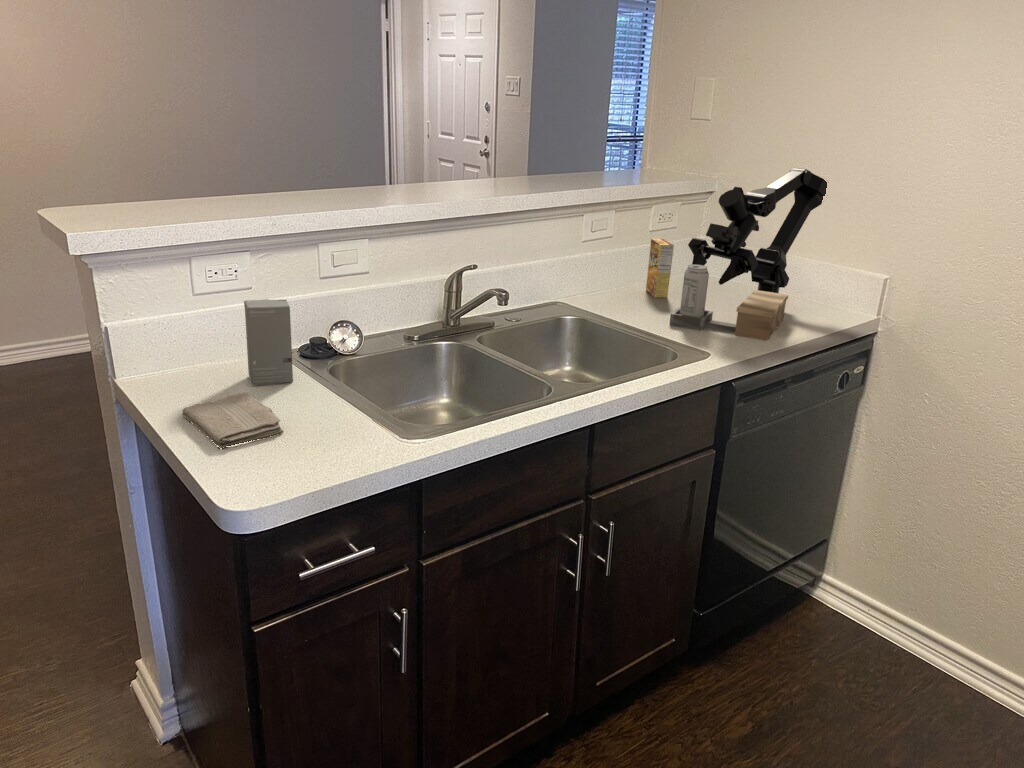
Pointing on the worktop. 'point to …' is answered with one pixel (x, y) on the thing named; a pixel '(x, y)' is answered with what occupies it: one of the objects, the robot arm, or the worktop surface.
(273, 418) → the washcloth
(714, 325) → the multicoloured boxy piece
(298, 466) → the worktop surface
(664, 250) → the candy box
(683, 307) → the energy drink can
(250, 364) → the skincare box
